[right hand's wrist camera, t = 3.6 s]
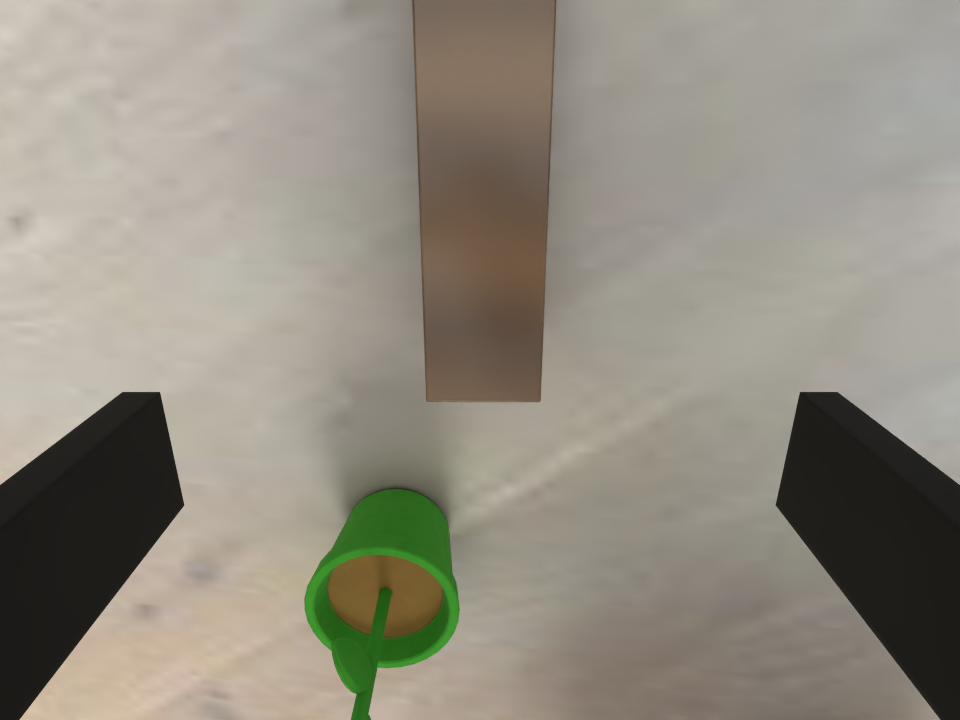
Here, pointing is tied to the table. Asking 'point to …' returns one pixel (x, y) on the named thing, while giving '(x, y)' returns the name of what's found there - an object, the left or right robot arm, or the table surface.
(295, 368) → the table surface
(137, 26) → the table surface
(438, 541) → the potted flower
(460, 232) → the bar
